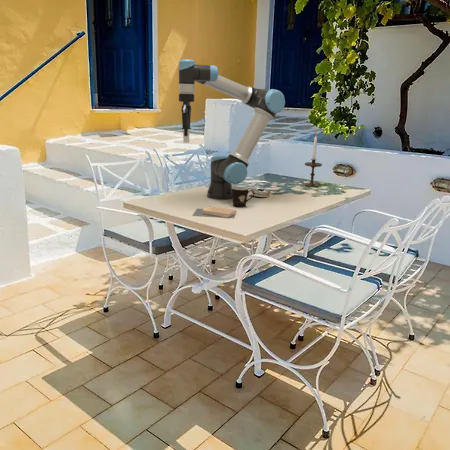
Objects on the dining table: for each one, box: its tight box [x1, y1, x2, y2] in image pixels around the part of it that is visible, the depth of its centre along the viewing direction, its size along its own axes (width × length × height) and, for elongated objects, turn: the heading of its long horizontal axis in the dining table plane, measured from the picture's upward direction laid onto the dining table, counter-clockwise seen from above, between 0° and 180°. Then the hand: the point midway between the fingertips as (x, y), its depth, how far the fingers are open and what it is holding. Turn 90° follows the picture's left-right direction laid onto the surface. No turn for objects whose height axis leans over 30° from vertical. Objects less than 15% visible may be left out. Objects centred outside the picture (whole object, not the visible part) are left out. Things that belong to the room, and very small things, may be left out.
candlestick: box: [304, 131, 323, 188], centre depth 298 cm, size 11×11×35 cm
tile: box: [202, 205, 237, 219], centre depth 225 cm, size 9×2×14 cm
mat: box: [191, 208, 237, 219], centre depth 226 cm, size 14×20×1 cm
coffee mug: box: [231, 186, 255, 209], centre depth 240 cm, size 12×9×10 cm
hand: (186, 142), depth 233 cm, fingers closed
